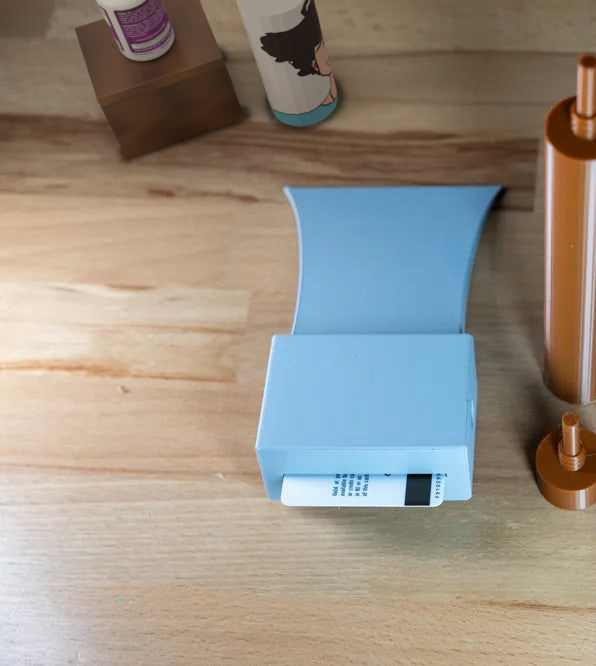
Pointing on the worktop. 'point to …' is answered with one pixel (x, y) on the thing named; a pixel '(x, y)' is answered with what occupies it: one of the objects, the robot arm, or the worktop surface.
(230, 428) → the worktop surface
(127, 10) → the pill bottle
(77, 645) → the worktop surface
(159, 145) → the wooden lidded box
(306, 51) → the cup
